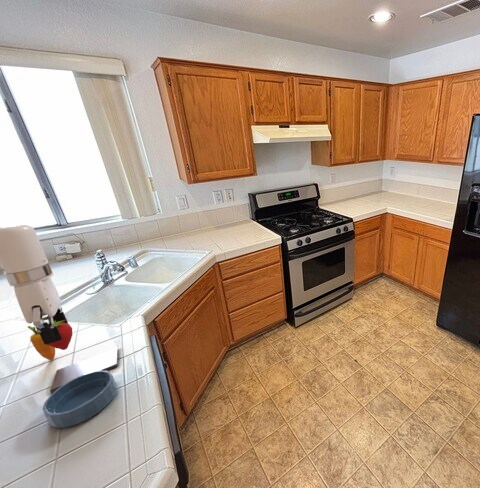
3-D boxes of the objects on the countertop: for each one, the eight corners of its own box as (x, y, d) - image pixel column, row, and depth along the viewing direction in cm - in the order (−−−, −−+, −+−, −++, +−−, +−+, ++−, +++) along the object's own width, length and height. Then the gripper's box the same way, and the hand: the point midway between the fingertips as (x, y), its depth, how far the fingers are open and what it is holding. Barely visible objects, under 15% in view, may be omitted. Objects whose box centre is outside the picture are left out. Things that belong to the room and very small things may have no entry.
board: (51, 393, 78) (49, 390, 78) (58, 372, 86) (56, 370, 85) (117, 366, 87) (116, 363, 86) (118, 350, 94) (117, 347, 94)
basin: (44, 441, 64) (36, 426, 63) (56, 400, 75) (49, 387, 74) (117, 407, 72) (111, 393, 70) (118, 375, 83) (113, 362, 82)
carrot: (38, 363, 90) (19, 327, 86) (56, 353, 95) (39, 318, 90) (47, 366, 89) (28, 329, 84) (65, 356, 93) (48, 320, 88)
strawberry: (50, 362, 67) (35, 329, 64) (48, 349, 72) (33, 318, 69) (81, 349, 71) (67, 318, 68) (76, 338, 76) (64, 308, 73)
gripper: (19, 267, 69) (46, 323, 75) (-8, 292, 56) (27, 358, 61) (58, 260, 73) (80, 314, 79) (41, 281, 60) (70, 345, 65)
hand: (57, 333), depth 70 cm, fingers closed on strawberry, 7 cm apart
